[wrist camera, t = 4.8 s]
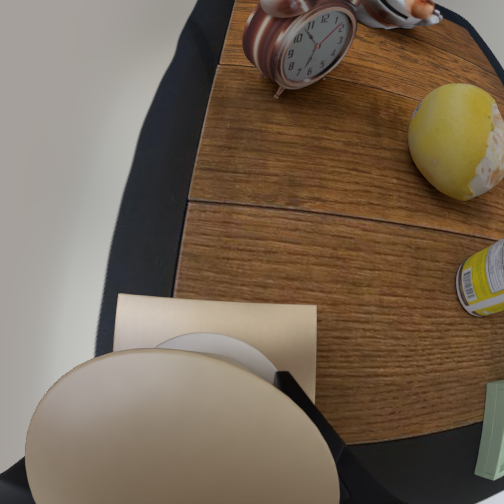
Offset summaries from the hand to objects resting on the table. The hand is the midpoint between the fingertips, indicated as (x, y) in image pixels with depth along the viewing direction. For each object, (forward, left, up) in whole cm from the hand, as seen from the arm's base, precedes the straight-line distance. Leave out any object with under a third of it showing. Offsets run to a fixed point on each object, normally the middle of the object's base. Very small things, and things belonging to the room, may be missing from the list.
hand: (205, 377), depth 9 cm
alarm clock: (+27, +6, -12) cm, 30 cm away
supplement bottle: (+15, -18, -12) cm, 26 cm away
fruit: (+25, -11, -12) cm, 29 cm away
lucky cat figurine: (+52, +1, -12) cm, 53 cm away
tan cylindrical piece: (-1, -1, -4) cm, 4 cm away
